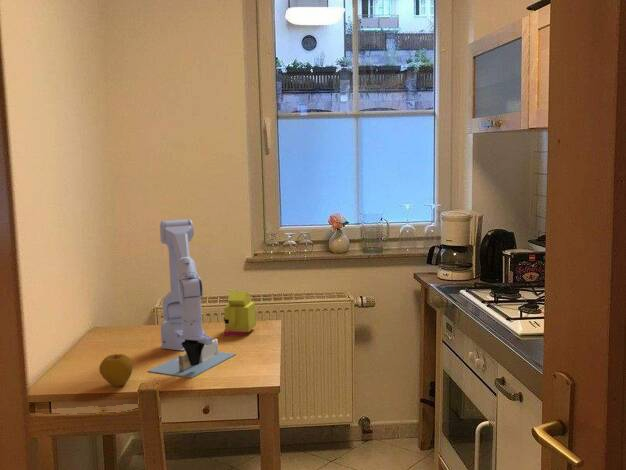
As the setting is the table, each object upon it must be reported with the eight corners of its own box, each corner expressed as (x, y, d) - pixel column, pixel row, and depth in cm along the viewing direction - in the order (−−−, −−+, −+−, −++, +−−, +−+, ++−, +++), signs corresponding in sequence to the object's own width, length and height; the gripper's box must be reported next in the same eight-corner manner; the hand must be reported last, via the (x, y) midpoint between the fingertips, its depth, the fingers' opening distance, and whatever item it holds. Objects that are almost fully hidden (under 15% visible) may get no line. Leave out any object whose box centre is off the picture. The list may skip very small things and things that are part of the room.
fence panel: (196, 362, 197) (195, 348, 196) (199, 363, 196) (198, 348, 195) (178, 371, 189) (177, 356, 188) (181, 372, 189) (180, 356, 188)
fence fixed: (196, 363, 197) (195, 347, 196) (215, 353, 206) (214, 338, 205) (200, 364, 196) (199, 348, 196) (219, 354, 205) (218, 339, 205)
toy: (231, 326, 238) (229, 286, 236) (258, 327, 236) (256, 287, 234) (219, 337, 225) (217, 294, 223) (247, 337, 223) (245, 295, 221)
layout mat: (147, 371, 191) (147, 370, 191) (194, 349, 211) (194, 348, 211) (191, 378, 184) (191, 377, 184) (235, 354, 204) (235, 353, 204)
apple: (93, 389, 178) (91, 357, 177) (114, 378, 186) (112, 348, 185) (120, 392, 175) (118, 360, 174) (140, 381, 183) (138, 350, 182)
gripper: (219, 319, 186) (221, 365, 188) (186, 313, 195) (189, 356, 197) (200, 325, 181) (203, 372, 182) (167, 318, 190) (170, 363, 191)
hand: (194, 364), depth 189 cm, fingers closed
